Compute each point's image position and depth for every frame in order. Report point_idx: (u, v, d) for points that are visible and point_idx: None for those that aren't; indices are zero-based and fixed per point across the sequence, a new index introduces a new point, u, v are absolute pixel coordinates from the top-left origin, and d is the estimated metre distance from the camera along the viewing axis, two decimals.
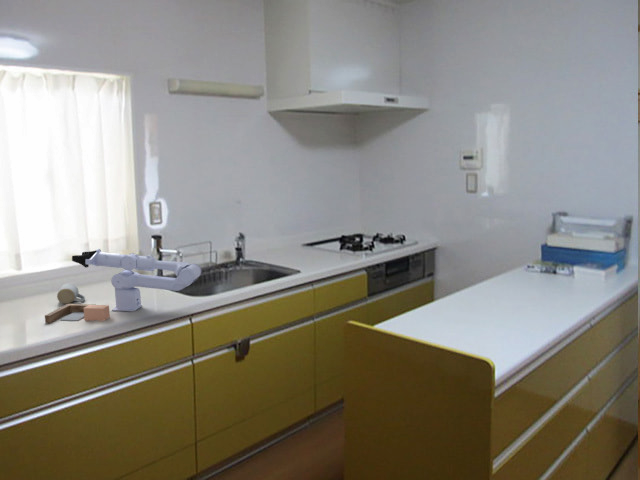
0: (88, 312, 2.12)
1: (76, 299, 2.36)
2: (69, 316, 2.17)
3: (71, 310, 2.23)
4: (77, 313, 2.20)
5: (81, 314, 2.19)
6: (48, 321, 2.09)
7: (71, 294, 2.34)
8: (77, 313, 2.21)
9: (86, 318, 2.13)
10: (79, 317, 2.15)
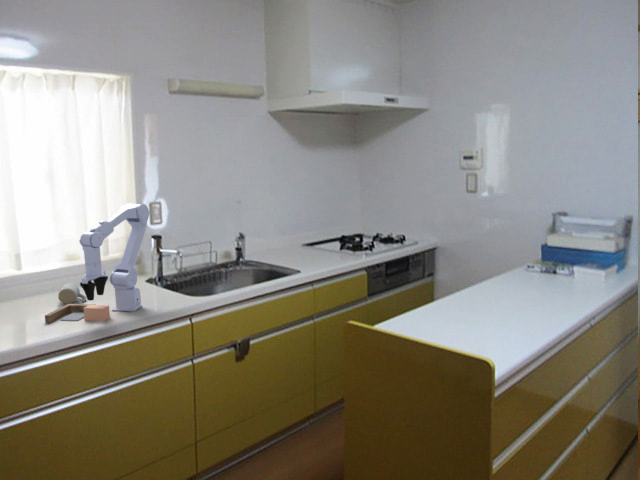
0: (88, 312, 2.12)
1: (77, 299, 2.36)
2: (69, 316, 2.17)
3: (71, 310, 2.23)
4: (77, 313, 2.20)
5: (81, 314, 2.19)
6: (48, 321, 2.09)
7: (72, 294, 2.34)
8: (77, 313, 2.21)
9: (86, 318, 2.13)
10: (79, 317, 2.15)
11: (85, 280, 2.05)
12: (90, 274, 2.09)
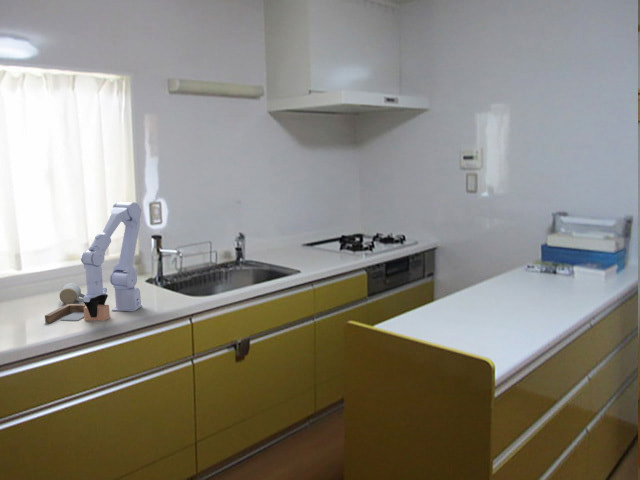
0: (88, 312, 2.12)
1: (78, 299, 2.36)
2: (69, 316, 2.17)
3: (71, 310, 2.23)
4: (77, 313, 2.20)
5: (81, 314, 2.19)
6: (48, 321, 2.09)
7: (73, 294, 2.34)
8: (77, 313, 2.21)
9: (86, 318, 2.13)
10: (79, 317, 2.15)
11: (86, 299, 2.06)
12: (91, 292, 2.10)
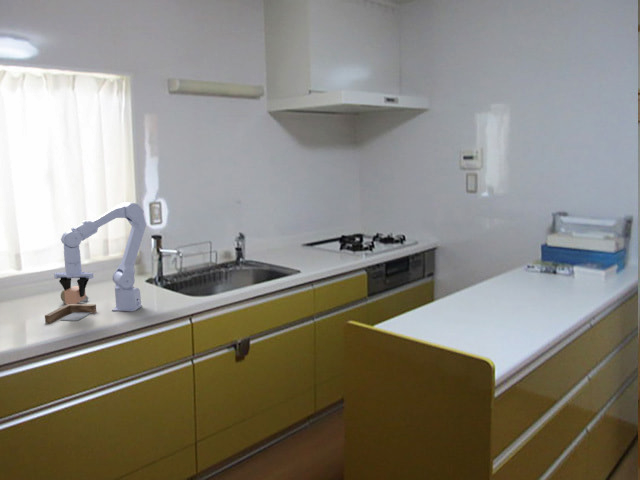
0: None
1: None
2: (69, 316, 2.17)
3: (71, 310, 2.23)
4: (77, 313, 2.20)
5: (81, 314, 2.19)
6: (48, 321, 2.09)
7: None
8: (77, 313, 2.21)
9: None
10: (79, 317, 2.15)
11: None
12: None
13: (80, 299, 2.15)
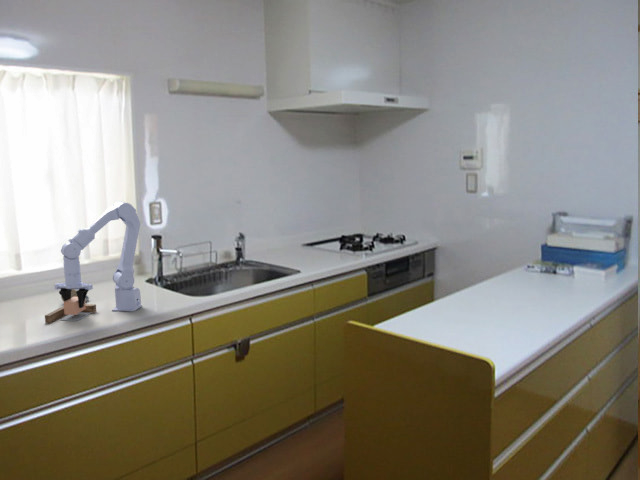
0: None
1: None
2: (69, 316, 2.17)
3: None
4: None
5: (81, 314, 2.19)
6: (48, 321, 2.09)
7: (75, 294, 2.35)
8: None
9: None
10: (79, 317, 2.15)
11: None
12: None
13: (79, 310, 2.16)
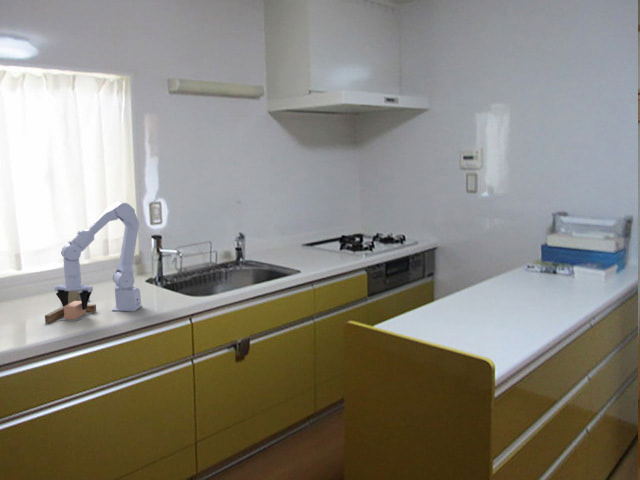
0: None
1: None
2: None
3: None
4: None
5: None
6: (48, 321, 2.09)
7: (76, 294, 2.35)
8: None
9: None
10: (79, 317, 2.15)
11: None
12: None
13: (79, 314, 2.16)
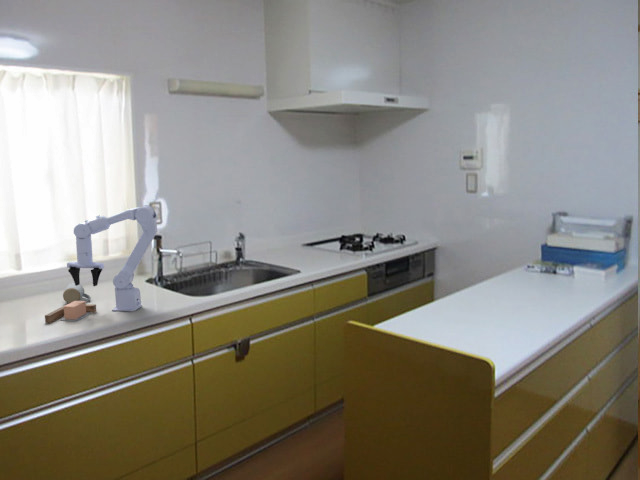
0: None
1: (82, 299, 2.37)
2: None
3: None
4: None
5: None
6: (48, 321, 2.09)
7: (77, 294, 2.35)
8: None
9: None
10: (79, 317, 2.15)
11: None
12: None
13: (79, 314, 2.16)
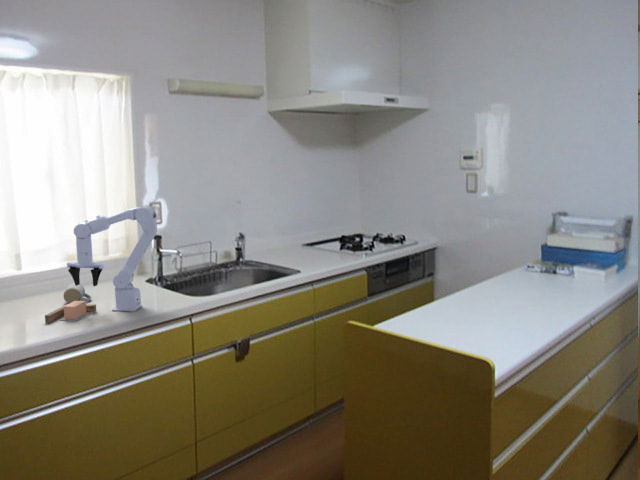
0: None
1: (82, 299, 2.37)
2: None
3: None
4: None
5: None
6: (48, 321, 2.09)
7: (77, 294, 2.35)
8: None
9: None
10: (79, 317, 2.15)
11: None
12: None
13: (79, 314, 2.16)
